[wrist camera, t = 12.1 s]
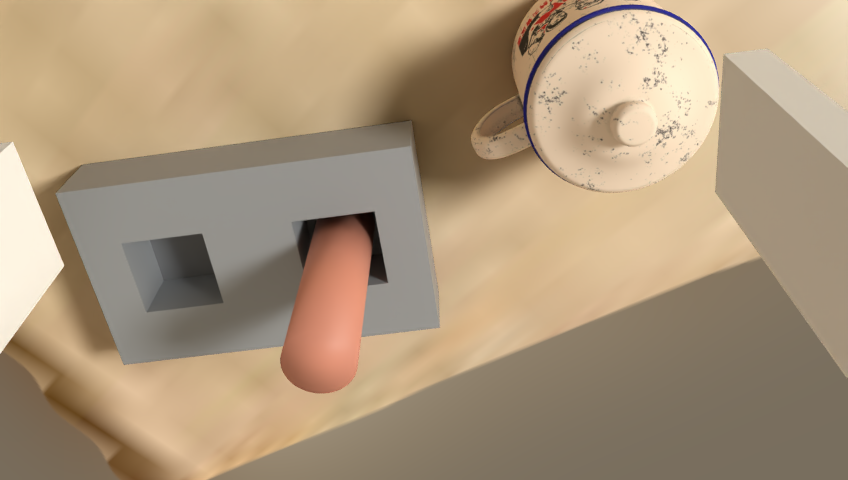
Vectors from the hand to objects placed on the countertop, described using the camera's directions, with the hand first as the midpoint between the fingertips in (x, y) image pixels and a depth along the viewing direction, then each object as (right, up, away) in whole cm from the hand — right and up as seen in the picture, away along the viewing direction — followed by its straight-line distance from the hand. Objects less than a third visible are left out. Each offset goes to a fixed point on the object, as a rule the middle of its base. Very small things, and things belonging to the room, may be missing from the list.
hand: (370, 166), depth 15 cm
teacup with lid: (+9, +9, +30) cm, 33 cm away
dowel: (-4, 0, +35) cm, 35 cm away
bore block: (-9, -1, +35) cm, 36 cm away
